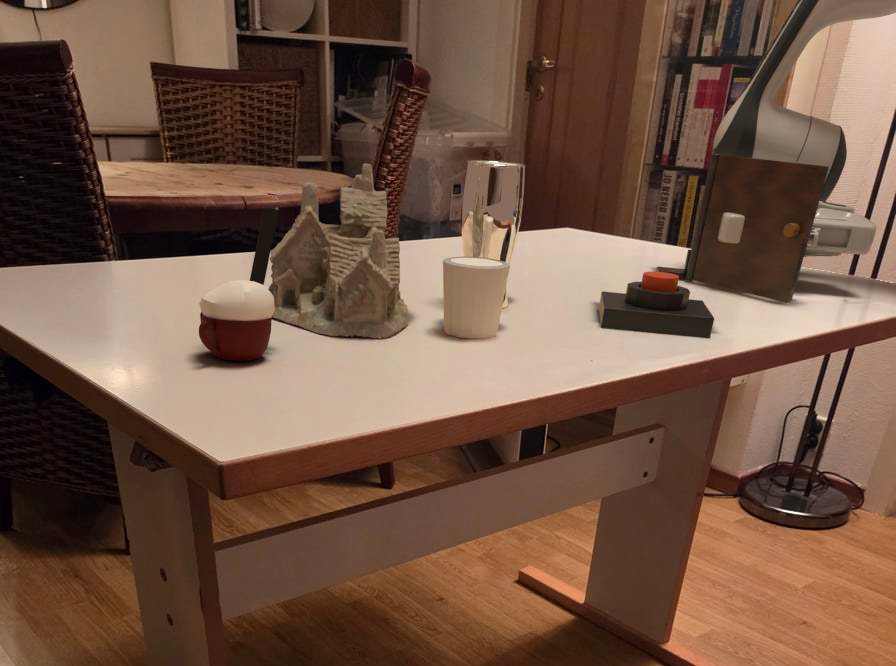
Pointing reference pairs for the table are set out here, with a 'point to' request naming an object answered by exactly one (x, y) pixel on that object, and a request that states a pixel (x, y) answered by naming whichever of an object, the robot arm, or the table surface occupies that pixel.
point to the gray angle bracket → (677, 269)
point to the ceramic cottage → (340, 267)
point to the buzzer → (655, 312)
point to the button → (660, 281)
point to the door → (756, 224)
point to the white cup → (473, 295)
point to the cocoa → (242, 306)
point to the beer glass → (492, 209)
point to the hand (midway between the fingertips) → (805, 239)
